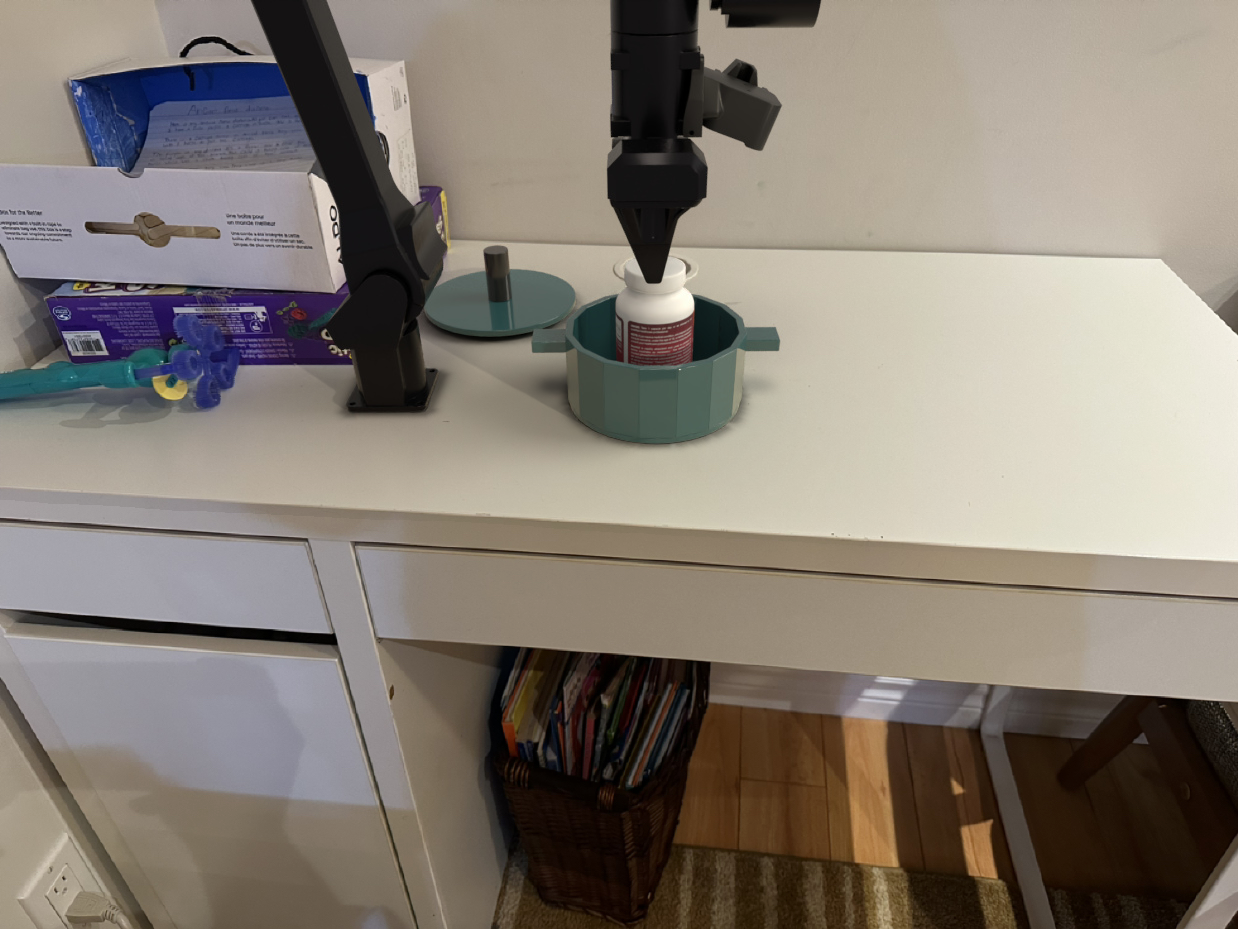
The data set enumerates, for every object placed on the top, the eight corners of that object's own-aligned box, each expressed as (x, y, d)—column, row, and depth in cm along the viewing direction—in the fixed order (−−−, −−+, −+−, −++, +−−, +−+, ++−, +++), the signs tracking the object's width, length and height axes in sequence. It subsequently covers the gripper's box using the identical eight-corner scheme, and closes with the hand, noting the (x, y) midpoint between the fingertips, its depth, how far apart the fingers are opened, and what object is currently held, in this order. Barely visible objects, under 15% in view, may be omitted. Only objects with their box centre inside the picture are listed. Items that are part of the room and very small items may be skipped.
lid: (572, 341, 79) (569, 279, 75) (411, 343, 79) (400, 280, 76) (579, 278, 91) (577, 222, 88) (439, 279, 92) (431, 223, 88)
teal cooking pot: (784, 443, 65) (794, 368, 61) (529, 444, 65) (523, 370, 61) (760, 356, 76) (766, 289, 72) (543, 358, 76) (539, 291, 73)
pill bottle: (706, 391, 70) (713, 265, 64) (654, 419, 67) (656, 288, 60) (653, 366, 74) (654, 244, 67) (601, 391, 70) (598, 265, 64)
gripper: (803, 51, 47) (776, 309, 56) (759, 8, 62) (744, 216, 71) (604, 54, 47) (609, 311, 56) (609, 11, 63) (612, 218, 71)
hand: (652, 258), depth 64 cm, fingers open, 9 cm apart
